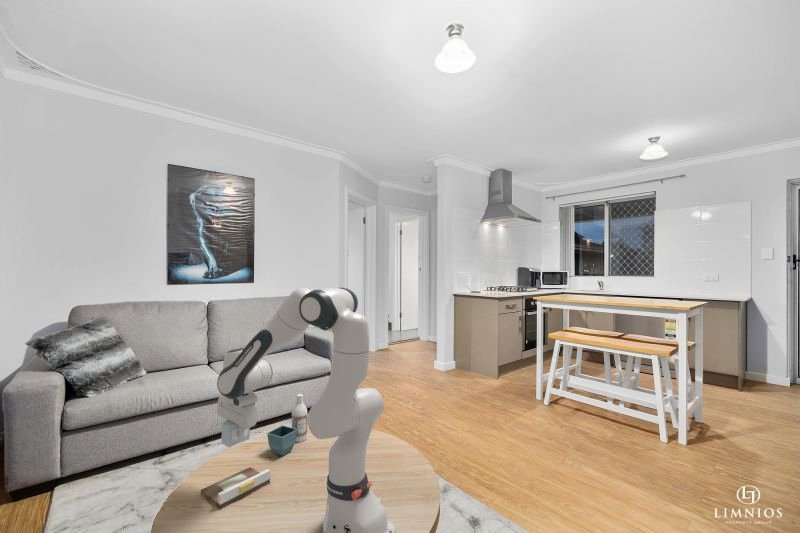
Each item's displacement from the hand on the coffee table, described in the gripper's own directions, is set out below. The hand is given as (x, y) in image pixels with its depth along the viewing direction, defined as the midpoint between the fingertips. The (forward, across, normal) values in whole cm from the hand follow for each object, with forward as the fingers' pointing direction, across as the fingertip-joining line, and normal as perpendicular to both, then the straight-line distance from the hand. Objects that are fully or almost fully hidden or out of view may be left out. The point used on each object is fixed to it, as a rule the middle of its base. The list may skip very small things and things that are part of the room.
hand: (235, 433), depth 127 cm
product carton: (+3, 0, 0) cm, 3 cm away
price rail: (+17, +7, 0) cm, 18 cm away
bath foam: (+19, -12, +37) cm, 43 cm away
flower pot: (+19, -8, +25) cm, 32 cm away
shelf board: (+19, +1, 0) cm, 19 cm away
